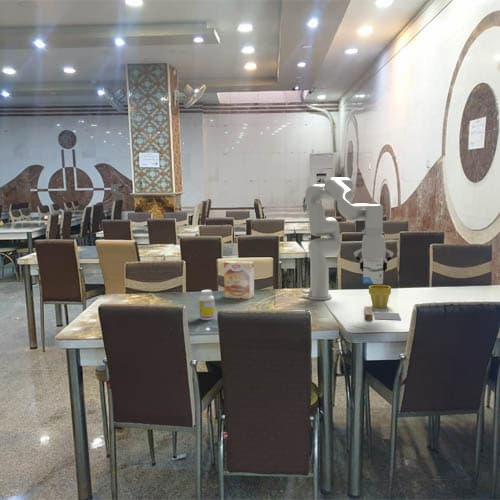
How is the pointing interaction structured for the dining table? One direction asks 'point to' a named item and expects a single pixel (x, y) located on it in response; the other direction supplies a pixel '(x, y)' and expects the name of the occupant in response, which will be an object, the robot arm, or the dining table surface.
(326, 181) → the robot arm
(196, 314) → the dining table surface
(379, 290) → the plant pot
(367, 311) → the rail
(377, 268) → the ink box
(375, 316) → the mat
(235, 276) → the coffeecake box
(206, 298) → the supplement bottle
